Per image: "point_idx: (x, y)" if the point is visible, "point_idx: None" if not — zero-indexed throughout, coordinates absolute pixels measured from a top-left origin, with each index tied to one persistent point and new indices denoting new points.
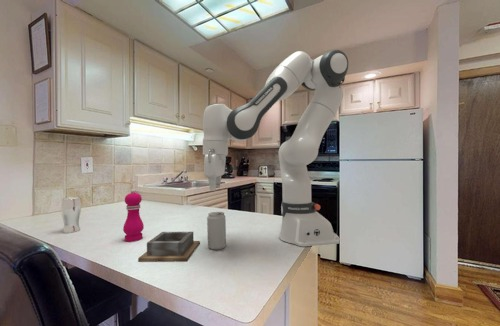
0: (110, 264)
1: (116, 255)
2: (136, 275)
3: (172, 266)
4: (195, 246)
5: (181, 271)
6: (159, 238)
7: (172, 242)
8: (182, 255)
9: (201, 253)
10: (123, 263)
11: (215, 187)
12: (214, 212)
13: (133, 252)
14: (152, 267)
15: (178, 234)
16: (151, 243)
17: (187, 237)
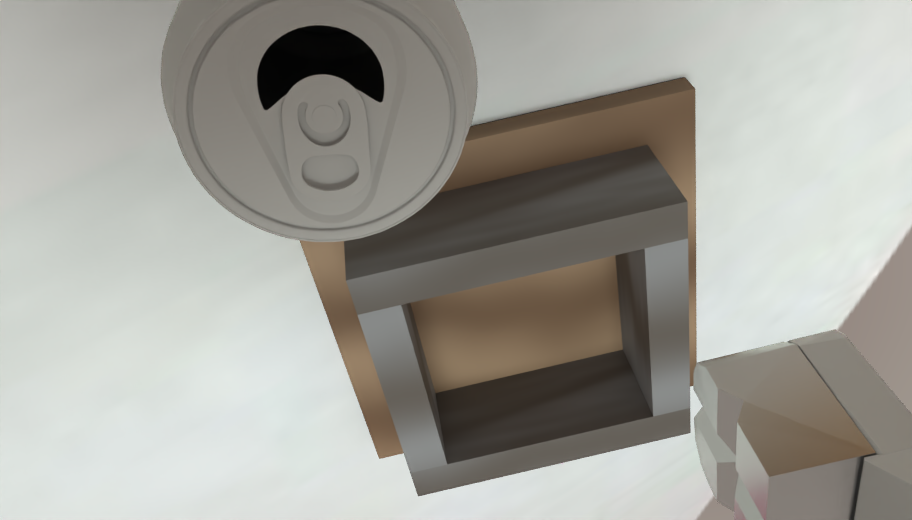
0: None
1: (606, 516)
2: (870, 261)
3: (766, 134)
4: None
5: (851, 26)
6: (547, 430)
7: (680, 283)
8: (647, 149)
9: (511, 38)
10: None
11: (782, 405)
12: (247, 186)
13: (554, 476)
14: (773, 245)
15: (419, 366)
16: (688, 404)
17: (539, 238)
